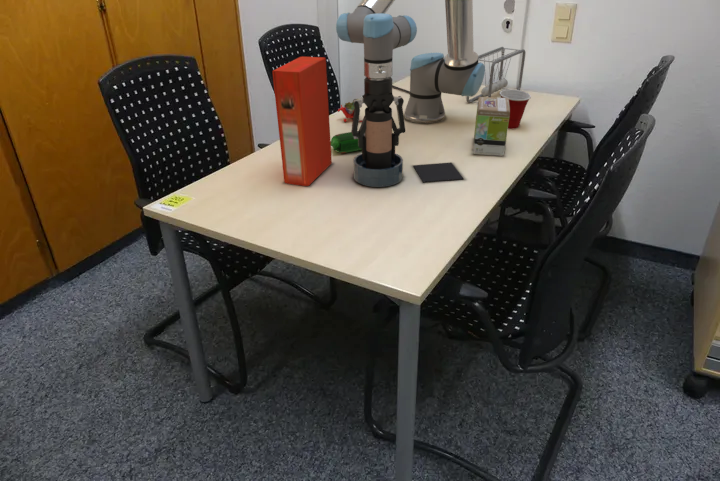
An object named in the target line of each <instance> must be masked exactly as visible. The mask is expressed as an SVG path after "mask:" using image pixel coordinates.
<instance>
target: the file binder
mask: <svg viewBox="0 0 720 481" xmlns="http://www.w3.org/2000/svg"><path fill="white" fill-rule="evenodd" d="M326 60H327V59H326V57H321V56H299V57H297V58H294V59H293V60H291V61H289V62H288V63H285V64H283V65H281V66H279V67H277V68H275V69H274V70H272V82H273V89H274V90H273V91H274V100H275V108H276V117H277V126H278V127H277V128H278V135H279V136H278V137H279V145H280V154H281V156H280V157H281V164H282V173H283V181H284V184H289V185H295V186H302V187H308V186H310V185H311V184H312V183H313V182H314V181H315V180H317V179H318V177H319V176H321V174H323V172H324V171H325V170H327V168H329V167H330V166H331V165H332V163H333V160H332V146H331V125H330V111H329V110H330V109H329V92H328V90H329V89H328V74H327V73H328V72H327V61H326Z"/></svg>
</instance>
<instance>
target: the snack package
mask: <svg viewBox="0 0 720 481" xmlns="http://www.w3.org/2000/svg"><path fill="white" fill-rule="evenodd" d="M364 136H365V133H364ZM330 141H331V148H333V149H332V150H334V151H336V152H338V153H340V154H346V153H347V154H348V153H352V152H353V153H354V152H358V151H362V149H360V148H359V146H358V137H356V136H355V137H354V136H353V135H352V132H351V131H349V132H342V133H338V134H334V135H333V136H332V137H331V138H330Z"/></svg>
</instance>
